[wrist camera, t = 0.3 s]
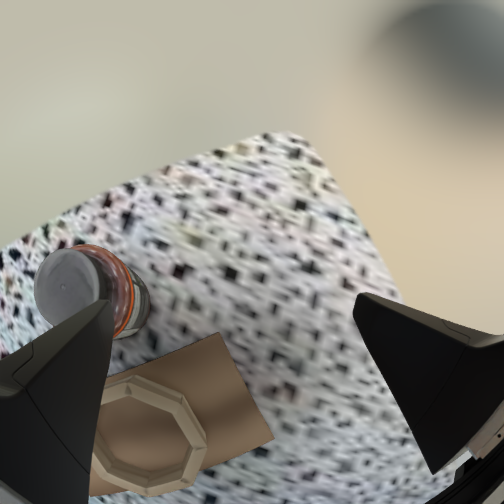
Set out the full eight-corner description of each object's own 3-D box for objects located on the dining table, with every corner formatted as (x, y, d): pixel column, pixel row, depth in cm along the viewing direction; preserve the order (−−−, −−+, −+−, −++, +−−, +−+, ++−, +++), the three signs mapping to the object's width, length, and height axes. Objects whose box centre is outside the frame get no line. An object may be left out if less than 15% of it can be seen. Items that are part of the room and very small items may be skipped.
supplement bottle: (78, 316, 20) (4, 307, 10) (106, 257, 22) (50, 208, 12) (134, 350, 21) (87, 372, 10) (163, 288, 23) (138, 259, 12)
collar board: (271, 434, 21) (285, 451, 17) (92, 492, 16) (82, 511, 12) (218, 332, 23) (223, 334, 19) (36, 400, 17) (15, 409, 13)
